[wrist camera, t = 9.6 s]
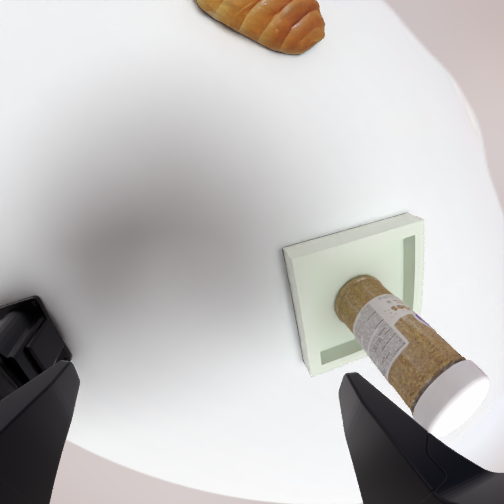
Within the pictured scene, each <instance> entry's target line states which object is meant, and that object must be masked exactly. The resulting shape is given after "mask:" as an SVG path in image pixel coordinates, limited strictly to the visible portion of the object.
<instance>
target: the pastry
mask: <svg viewBox="0 0 504 504" xmlns="http://www.w3.org/2000/svg"><path fill="white" fill-rule="evenodd" d="M196 1H197V3H198V5H199V7H200V8H201V9H202V10H204V11H205V12H206V13H208V14H209V15H210V16H211V17H213V18H214V19H215V20H217V21H219V22H221V23H224V24H225V25H226V26H228V27H230V28H232V29H233V30H235V31H237V32H239V33H241V34H243V35H245V36H247V37H249V38H251V39H252V40H254V41H256V42H258V43H260V44H262V45H263V46H265V47H267V48H269V49H271V50H274V51H279V52H282V53H285V54H302V53H304V52H305V51H307V50H309V49H310V48H311V47H312V46H314V45H315V44H316V43H318V42H320V41H321V40H322V39H323V38H324V36H325V32H324V26H325V23H324V20H323V18H322V16H321V13H320V10H319V3H318V2H317V1H316V0H196Z"/></svg>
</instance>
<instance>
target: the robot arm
mask: <svg viewBox="0 0 504 504" xmlns="http://www.w3.org/2000/svg"><path fill="white" fill-rule="evenodd" d="M34 301H35V302H36V303H37V304H35V302H34ZM65 356H66V357H67V358H66V357H65ZM71 359H72V356H71V354H70V352H69V351H68V349H67V347H66V346H65V344H64V342H63V341H62V339H61V337H60V336H59V334H58V332H57V330H56V329H55V327H54V325H53V323H52V321H51V319H50V318H49V316H48V314H47V312H46V310H45V308H44V306H43V304H42V302H41V300H40V299H39V298H38V297H37V296H32V297H29V298H26V299H23V300H20V301H16V302H13V303H10V304H7V305H4V306H1V307H0V504H49V503H50V499H51V494H52V489H53V485H54V481H55V477H56V473H57V469H58V465H59V461H60V458H61V454H62V451H63V447H64V443H65V440H66V437H67V434H68V431H69V427H70V424H71V421H72V417H73V412H74V407H75V403H76V398H77V394H78V389H79V385H80V380H79V377H78V374H77V372H76V370H75V367H74V365H73V364H72V362H70V361H71ZM339 401H340V407H341V413H342V419H343V426H344V432H345V437H346V441H347V444H348V448H349V451H350V455H351V459H352V462H353V466H354V470H355V473H356V477H357V481H358V485H359V488H360V492H361V496H362V500H363V504H504V473H495V472H490V471H488V470H485V469H483V468H481V467H480V466H478V465H476V464H475V463H473V462H471V461H470V460H468V459H466V458H465V457H463V456H462V455H460V454H458V453H457V452H455V451H454V450H452V449H451V448H449V447H448V446H446V445H445V444H444V443H442V442H441V441H440V440H439V439H437V438H436V437H435V436H433V435H432V434H431V433H428V431H427V430H426V429H425V428H424V427H422V426H421V425H420V424H419V423H417V422H416V421H415V420H414V419H413V418H411V417H410V416H409V415H408V414H406V413H405V412H404V411H403V410H402V409H400V408H399V407H398V406H397V405H396V404H394V403H393V402H392V401H391V400H390V399H388V398H387V397H386V396H385V395H384V394H382V393H381V392H380V391H379V390H378V389H376V388H375V387H374V386H373V385H372V384H370V383H369V382H368V381H367V380H366V379H365V378H363V377H362V376H361V375H360V374H359V373H356V372H354V373H346V374H345V375H344V377H343V380H342V383H341V386H340V389H339Z"/></svg>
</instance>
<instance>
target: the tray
mask: <svg viewBox="0 0 504 504" xmlns="http://www.w3.org/2000/svg"><path fill="white" fill-rule="evenodd" d="M283 253H284V258H285V263H286V268H287V273H288V279H289V284H290V289H291V295H292V300H293V305H294V311H295V316H296V322H297V327H298V333H299V339H300V344H301V350H302V356H303V361H304V363H305V365H306V367H307V369H308V372H309V374H310V376H311V377H313V376H316V375H319V374H322V373H324V372H327V371H330V370H333V369H335V368H338V367H341V366H343V365H346V364H348V363H351V362H353V361H356V360H358V359H361V358H363V357H366V356H368V355H367V353H366V352H365V351H364V349H363V348H362V347H361V345H360V344H359V343H358V341H357V340H356V339H355V337H354V334H353V333H352V332H351V331H350V330H349V328H348V327H347V326H346V324H345V323H343V322H342V321H340V319H339V318H338V316H337V314H336V311H335V304H336V300H337V297H338V295H339V293H340V291H341V290H342V288H343V287H344V286H345V285H346V284H347V283H348V282H350V281H351V280H353V279H355V278H357V277H359V276H372V277H375V278H377V279H378V280H379V281H380V282H381V283H382V285H383V286H384V287H385V288H386V289H387V290H389V291H390V292H391V293H392V294H393V295H395V296H396V297H398V298H399V299H400V300H402V301H403V302H404V303H405V304H406V305H407V306H408V307H409V308H411V309H412V310H413V311H414V312H415V313H416V314H417V315H418V316H419V317H420V315H421V305H422V292H423V275H424V219H422V218H419V217H417V216H414V215H412V214H409V213H405V214H401V215H398V216H394V217H391V218H387V219H384V220H380V221H377V222H373V223H370V224H366V225H363V226H359V227H356V228H352V229H349V230H345V231H342V232H338V233H334V234H331V235H327V236H324V237H320V238H317V239H313V240H310V241H306V242H302V243H299V244H295V245H292V246H288V247H285V248H283Z"/></svg>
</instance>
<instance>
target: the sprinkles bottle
mask: <svg viewBox="0 0 504 504" xmlns="http://www.w3.org/2000/svg"><path fill="white" fill-rule="evenodd" d="M335 311H336V314H337V316H338V318H339V319H340V321H342V322H343V323H345V324H346V326H347V327H348V328H349V330H350V331H351V332H352V333H353V334H354V337H355V339H356V340H357V341H358V343H359V344H360V345H361V347H362V348H363V349H364V351H365V352H366V353H367V355H368V356H369V357H370V359H371V360H372V361H373V363H374V364H375V365H376V367H377V368H378V369H379V370H380V372H381V373H382V374H383V376H384V377H385V378H386V380H387V381H388V382H389V383H390V384H391V385H392V386H393V387H394V388H395V390H396V391H397V392H398V394H399V395H400V396H401V398H402V399H403V400H404V402H405V403H406V404H407V406H408V407H409V408H410V410H411V412H412V415H413V418H414V420H415V421H416V422H417V423H419V424H420V425H421V426H422V427H424V428H425V429H426V430H427V431H428V433H431V434H432V435H433V436H435V437H436V438H437V439H438V438H441V437H443V436H445V435H447V434H449V433H451V432H452V431H454V430H455V429H456V428H458V427H459V426H460V425H461V424H462V423H464V422H465V421H466V420H467V419H468V418H469V417H470V416H471V415H472V414H473V413H474V411H475V410H476V409H477V408H478V406H479V405H480V404H481V402H482V401H483V399H484V397H485V396H486V394H487V391H488V389H489V384H490V381H489V378H488V376H487V375H486V374H485V373H484V372H483V371H482V370H481V369H480V368H479V367H478V366H477V365H476V364H475V363H474V362H472V361H471V360H466V359H465V358H464V357H462V356H461V355H460V354H459V353H458V352H457V351H456V350H454V349H453V348H452V347H451V346H450V345H449V344H448V343H447V342H446V341H445V340H444V339H443V338H442V337H441V336H439V335H438V334H437V333H436V331H435V330H434V329H433V328H432V327H431V326H430V325H429V324H427V323H426V322H425V321H424V320H423V319H422V318H421V317H419V316H418V315H417V314H416V313H415V312H414V311H413V310H412V309H411V308H409V307H408V306H407V305H406V304H405V303H404V302H403V301H402V300H400V299H399V298H398V297H396V296H395V295H393V294H392V293H391V292H390V291H389V290H387V289H386V288H385V287H384V286H383V285H382V283H381V282H380V281H379V280H378V279H377V278H375V277H372V276H359V277H357V278H355V279H353V280H351V281H350V282H348V283H347V284H346V285H345V286H344V287H343V288H342V290H341V291H340V293H339V295H338V297H337V300H336V304H335Z"/></svg>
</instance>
